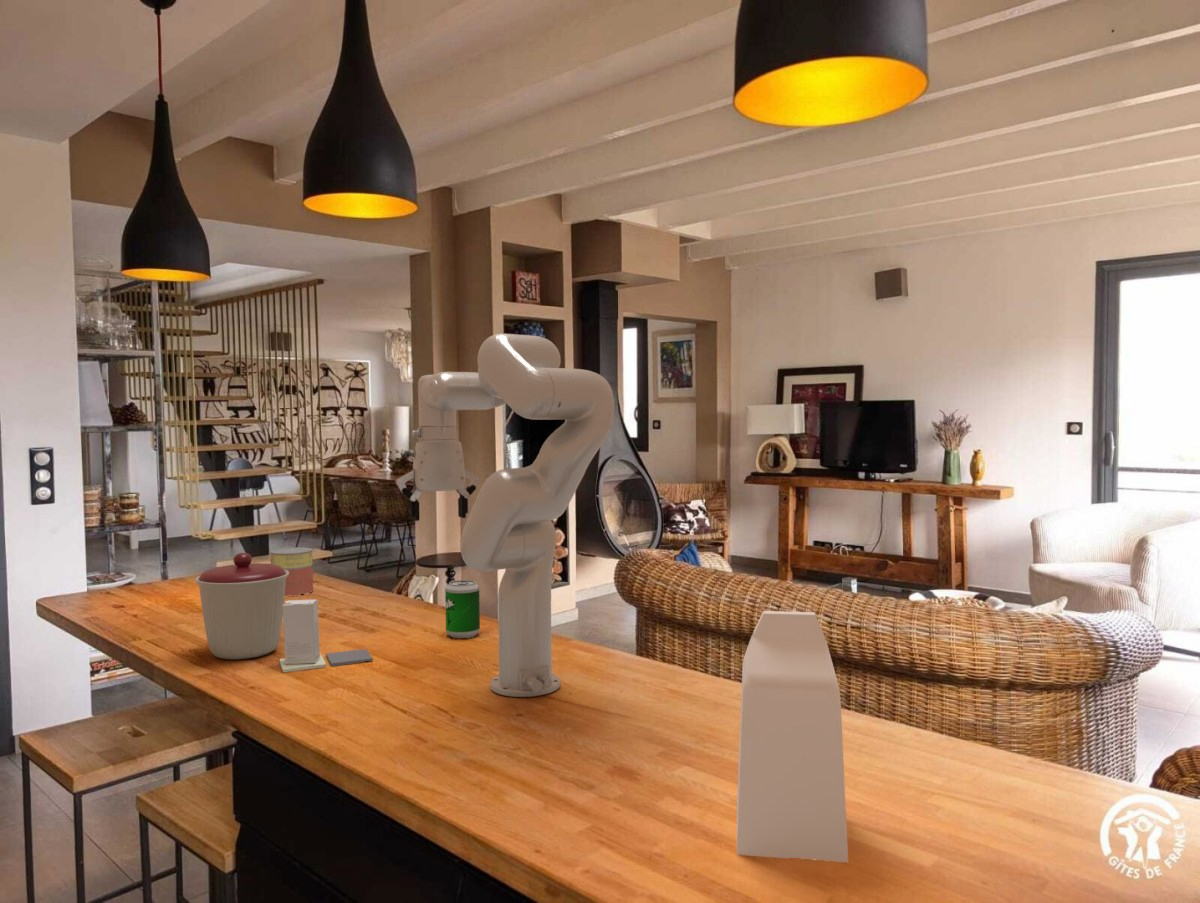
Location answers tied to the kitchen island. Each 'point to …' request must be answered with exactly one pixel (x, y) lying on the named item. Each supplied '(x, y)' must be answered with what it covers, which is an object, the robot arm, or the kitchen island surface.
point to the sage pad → (302, 665)
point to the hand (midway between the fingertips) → (439, 518)
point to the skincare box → (301, 631)
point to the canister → (242, 607)
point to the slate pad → (348, 657)
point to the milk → (790, 744)
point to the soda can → (462, 609)
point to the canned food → (295, 568)
